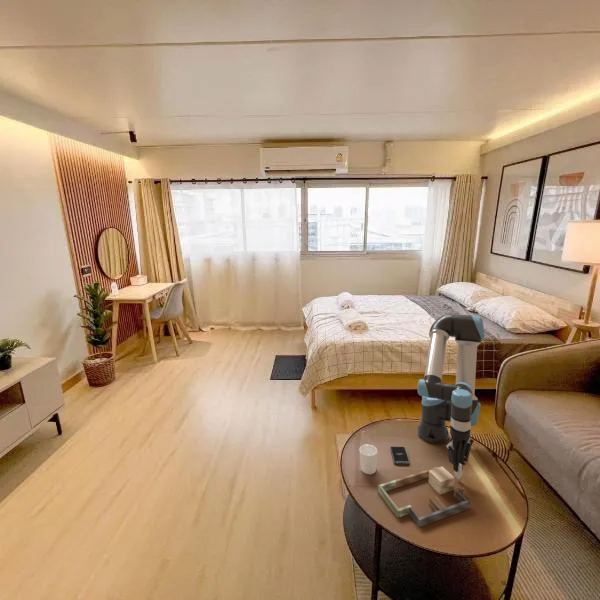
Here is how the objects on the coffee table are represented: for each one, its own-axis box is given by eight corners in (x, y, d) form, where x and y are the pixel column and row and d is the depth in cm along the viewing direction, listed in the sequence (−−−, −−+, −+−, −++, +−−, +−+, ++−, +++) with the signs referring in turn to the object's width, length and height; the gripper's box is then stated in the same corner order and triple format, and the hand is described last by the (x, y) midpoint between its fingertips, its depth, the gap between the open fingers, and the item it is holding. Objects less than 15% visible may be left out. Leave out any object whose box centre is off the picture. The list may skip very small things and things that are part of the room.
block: (441, 478, 141) (442, 466, 140) (454, 490, 135) (454, 477, 134) (428, 482, 139) (428, 470, 138) (440, 494, 133) (440, 482, 132)
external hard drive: (394, 465, 151) (394, 461, 151) (390, 449, 162) (390, 446, 162) (409, 465, 150) (409, 461, 150) (404, 450, 161) (404, 446, 161)
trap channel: (438, 471, 145) (439, 466, 144) (475, 506, 126) (476, 499, 126) (378, 491, 136) (378, 485, 135) (407, 531, 117) (407, 524, 116)
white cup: (366, 461, 154) (366, 442, 152) (380, 468, 149) (380, 449, 147) (356, 469, 149) (356, 450, 147) (371, 478, 143) (370, 458, 141)
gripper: (465, 418, 140) (462, 467, 145) (440, 425, 136) (438, 474, 141) (480, 428, 133) (476, 478, 138) (454, 435, 129) (451, 487, 134)
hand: (457, 476), depth 139 cm, fingers closed
